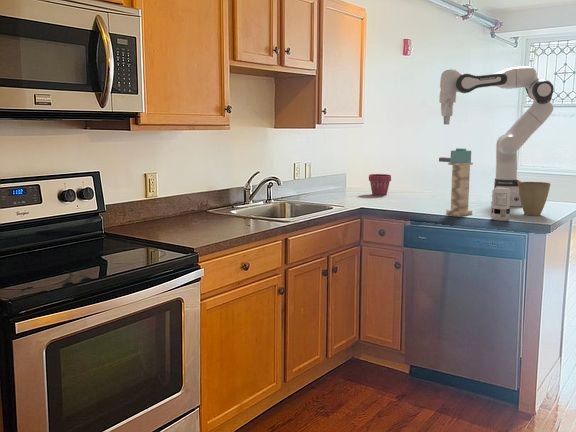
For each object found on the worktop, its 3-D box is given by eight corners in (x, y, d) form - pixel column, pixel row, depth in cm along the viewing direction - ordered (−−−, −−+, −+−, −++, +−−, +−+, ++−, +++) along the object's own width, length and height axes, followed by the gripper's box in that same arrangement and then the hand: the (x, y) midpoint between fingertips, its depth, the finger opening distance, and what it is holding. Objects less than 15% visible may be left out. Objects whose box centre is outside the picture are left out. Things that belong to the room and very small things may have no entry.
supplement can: (487, 218, 282) (489, 187, 280) (501, 217, 285) (502, 186, 282) (498, 221, 275) (500, 189, 272) (513, 220, 277) (514, 188, 275)
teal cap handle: (436, 161, 300) (436, 147, 299) (445, 161, 304) (445, 147, 302) (461, 163, 287) (462, 149, 286) (470, 162, 291) (471, 148, 290)
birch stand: (446, 213, 296) (448, 162, 292) (457, 212, 302) (459, 161, 297) (460, 216, 289) (462, 163, 285) (472, 214, 294) (474, 162, 290)
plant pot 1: (394, 195, 368) (395, 175, 366) (374, 196, 364) (374, 176, 362) (384, 193, 382) (385, 173, 380) (364, 194, 378) (365, 174, 376)
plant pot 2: (553, 214, 293) (555, 182, 290) (540, 217, 283) (542, 185, 280) (524, 211, 304) (526, 180, 301) (510, 214, 293) (512, 182, 291)
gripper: (456, 98, 314) (454, 124, 316) (451, 99, 334) (449, 124, 336) (444, 98, 315) (442, 124, 317) (439, 99, 335) (438, 124, 337)
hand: (446, 124), depth 327 cm, fingers open, 8 cm apart
